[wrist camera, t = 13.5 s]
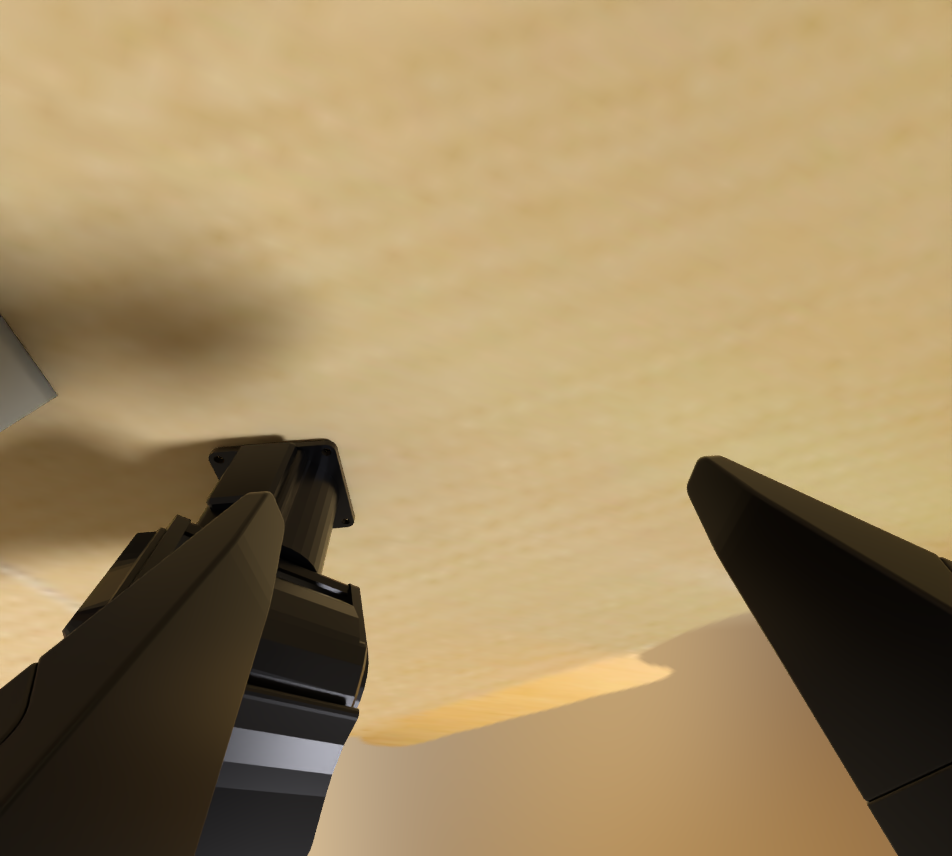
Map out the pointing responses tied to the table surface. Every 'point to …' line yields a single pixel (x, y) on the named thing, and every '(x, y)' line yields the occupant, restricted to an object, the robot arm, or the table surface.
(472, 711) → the table surface
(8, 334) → the bin
